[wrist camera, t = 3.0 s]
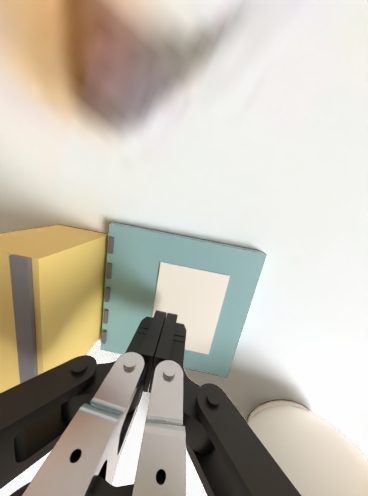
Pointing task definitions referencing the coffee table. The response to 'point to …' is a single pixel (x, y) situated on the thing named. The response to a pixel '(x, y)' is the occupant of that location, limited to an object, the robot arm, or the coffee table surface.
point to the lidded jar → (310, 450)
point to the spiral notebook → (179, 291)
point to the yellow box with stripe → (49, 298)
